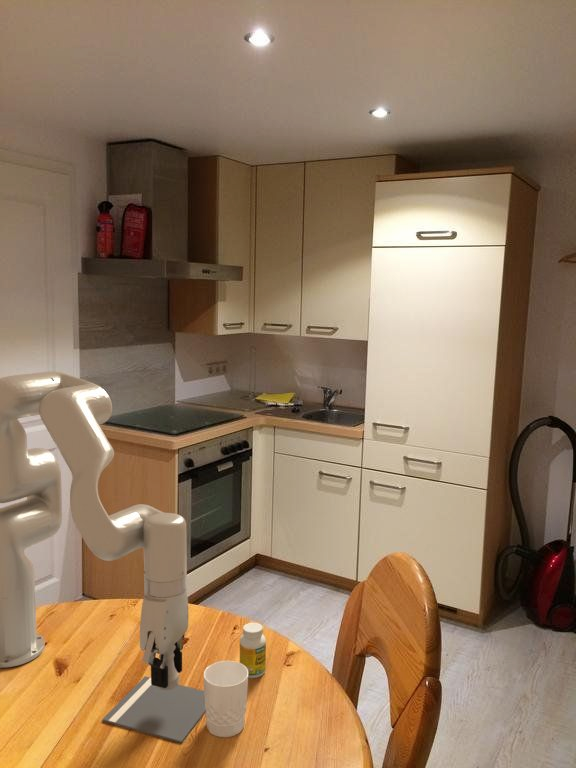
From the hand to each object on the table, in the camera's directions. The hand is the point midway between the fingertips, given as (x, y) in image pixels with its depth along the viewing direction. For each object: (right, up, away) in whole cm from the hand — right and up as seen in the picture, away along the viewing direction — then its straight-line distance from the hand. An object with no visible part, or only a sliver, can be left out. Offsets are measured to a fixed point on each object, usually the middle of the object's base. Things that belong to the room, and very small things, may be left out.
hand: (166, 677), depth 117 cm
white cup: (+11, -7, -3) cm, 14 cm away
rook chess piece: (0, -1, 0) cm, 2 cm away
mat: (-1, -6, +1) cm, 7 cm away
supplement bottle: (+15, -5, +14) cm, 21 cm away
